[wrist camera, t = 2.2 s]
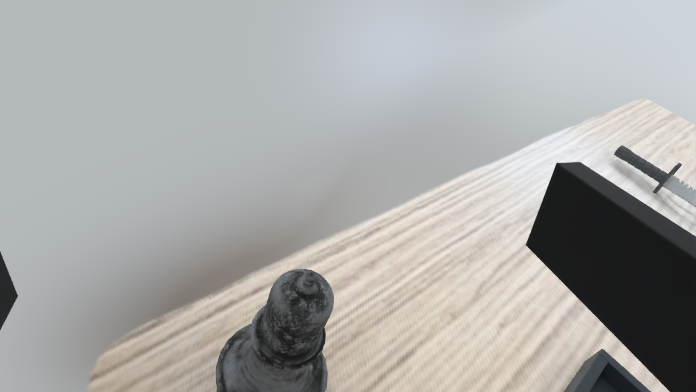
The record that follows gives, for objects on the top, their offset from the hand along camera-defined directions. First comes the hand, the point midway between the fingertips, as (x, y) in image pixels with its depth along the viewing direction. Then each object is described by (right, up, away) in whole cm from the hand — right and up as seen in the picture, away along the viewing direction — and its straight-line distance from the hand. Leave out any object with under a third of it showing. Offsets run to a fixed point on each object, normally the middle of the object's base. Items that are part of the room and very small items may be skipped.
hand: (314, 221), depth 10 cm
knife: (+46, 0, +50) cm, 68 cm away
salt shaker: (-4, -11, +15) cm, 19 cm away
